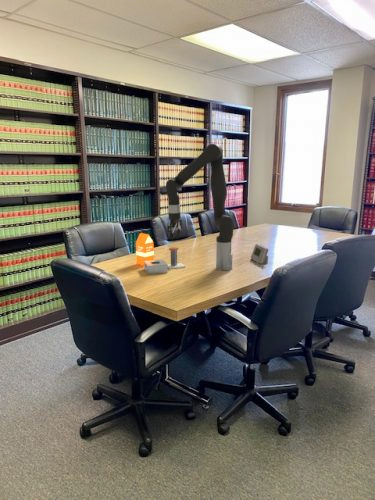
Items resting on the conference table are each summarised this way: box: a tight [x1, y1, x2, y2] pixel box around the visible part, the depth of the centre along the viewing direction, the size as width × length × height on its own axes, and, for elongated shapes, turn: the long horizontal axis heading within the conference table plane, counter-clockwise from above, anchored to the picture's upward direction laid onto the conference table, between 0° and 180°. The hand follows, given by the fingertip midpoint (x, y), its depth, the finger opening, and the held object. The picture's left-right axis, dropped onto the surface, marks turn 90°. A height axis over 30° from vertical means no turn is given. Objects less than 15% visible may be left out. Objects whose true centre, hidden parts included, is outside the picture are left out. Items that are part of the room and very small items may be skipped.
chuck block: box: [143, 259, 169, 275], centre depth 225 cm, size 12×12×5 cm
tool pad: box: [167, 262, 186, 270], centre depth 234 cm, size 10×8×1 cm
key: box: [168, 246, 179, 266], centre depth 233 cm, size 4×4×11 cm
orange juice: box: [135, 232, 155, 266], centre depth 239 cm, size 8×9×20 cm
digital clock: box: [250, 243, 269, 265], centre depth 243 cm, size 16×9×11 cm, turn 3°
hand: (175, 237), depth 230 cm, fingers open, 8 cm apart
